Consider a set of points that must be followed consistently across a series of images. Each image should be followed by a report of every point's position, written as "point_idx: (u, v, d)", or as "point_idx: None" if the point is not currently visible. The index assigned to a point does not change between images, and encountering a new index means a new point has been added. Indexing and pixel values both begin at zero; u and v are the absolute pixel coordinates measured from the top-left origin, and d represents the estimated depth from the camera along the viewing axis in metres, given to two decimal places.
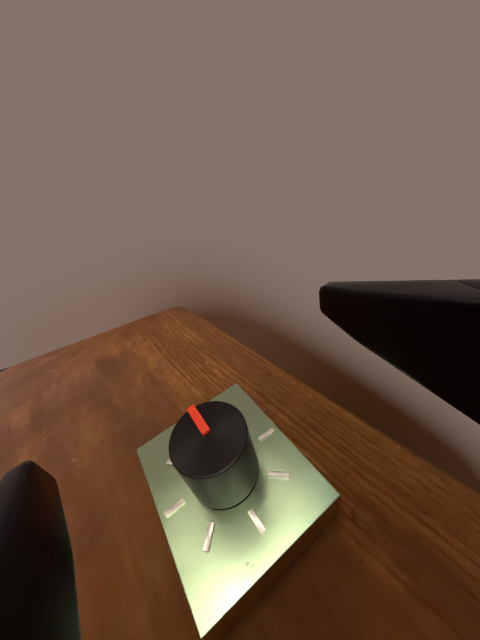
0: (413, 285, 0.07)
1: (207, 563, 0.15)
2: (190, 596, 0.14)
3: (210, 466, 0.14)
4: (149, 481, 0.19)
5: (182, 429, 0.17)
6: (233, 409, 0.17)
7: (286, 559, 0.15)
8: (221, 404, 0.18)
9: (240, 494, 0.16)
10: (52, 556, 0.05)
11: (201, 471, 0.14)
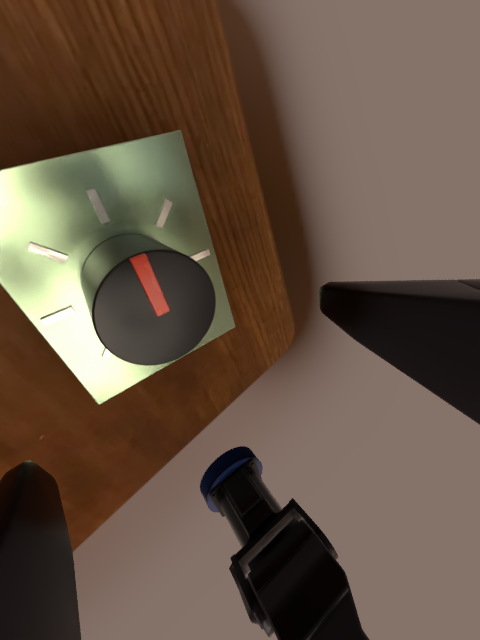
0: (413, 285, 0.07)
1: (106, 365, 0.15)
2: (87, 385, 0.15)
3: (161, 354, 0.11)
4: None
5: (119, 294, 0.09)
6: (206, 280, 0.11)
7: None
8: (190, 266, 0.11)
9: None
10: (52, 556, 0.05)
11: (149, 358, 0.11)
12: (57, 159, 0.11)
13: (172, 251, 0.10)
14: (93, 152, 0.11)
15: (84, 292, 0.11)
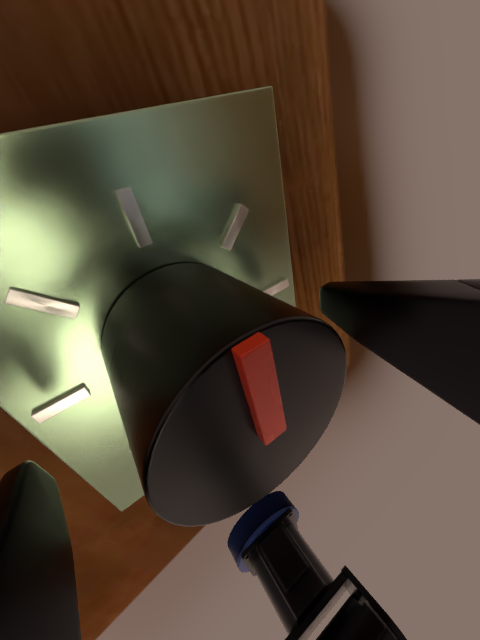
0: (413, 285, 0.07)
1: None
2: (106, 490, 0.10)
3: (254, 492, 0.06)
4: None
5: (201, 421, 0.04)
6: (340, 358, 0.06)
7: None
8: (325, 339, 0.05)
9: None
10: (52, 556, 0.05)
11: (234, 507, 0.06)
12: (62, 127, 0.05)
13: (304, 317, 0.05)
14: (129, 117, 0.06)
15: (111, 377, 0.06)
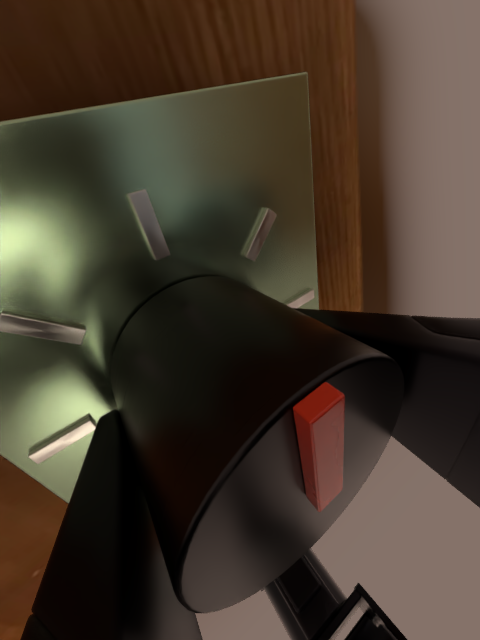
0: (365, 319, 0.06)
1: None
2: None
3: (294, 554, 0.05)
4: None
5: (248, 497, 0.03)
6: (399, 396, 0.05)
7: None
8: (389, 377, 0.04)
9: None
10: None
11: (272, 574, 0.05)
12: (65, 117, 0.04)
13: (372, 356, 0.04)
14: (146, 106, 0.05)
15: (123, 416, 0.05)
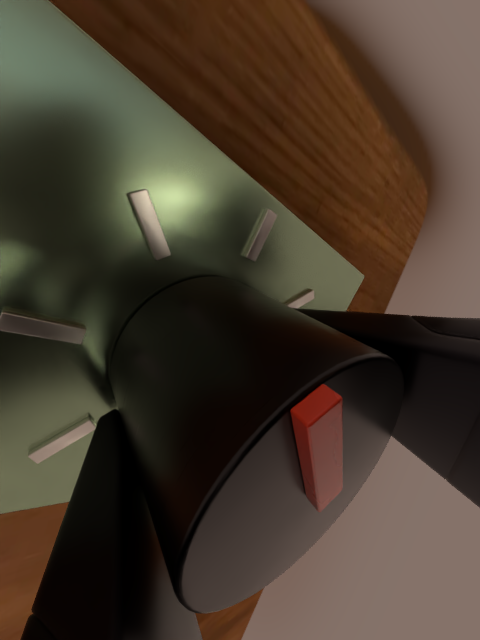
0: (365, 319, 0.06)
1: None
2: None
3: (295, 552, 0.05)
4: (34, 504, 0.07)
5: (247, 499, 0.03)
6: (399, 395, 0.05)
7: None
8: (389, 377, 0.04)
9: None
10: None
11: (274, 573, 0.05)
12: None
13: (371, 356, 0.04)
14: None
15: (123, 417, 0.05)
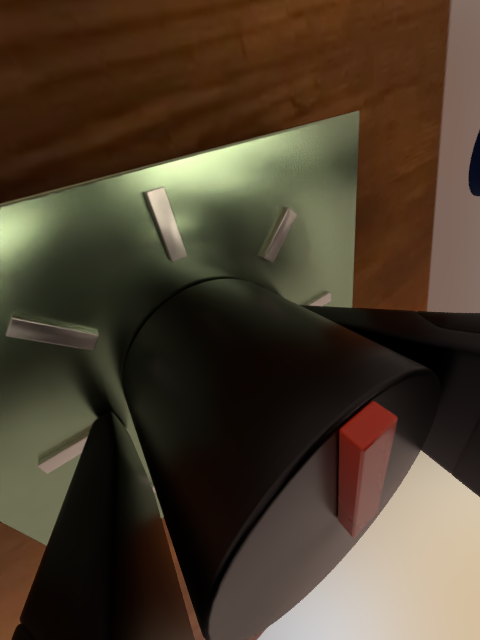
0: (371, 315, 0.06)
1: None
2: None
3: (318, 576, 0.05)
4: None
5: (285, 526, 0.03)
6: (434, 409, 0.05)
7: None
8: (428, 392, 0.04)
9: None
10: (144, 489, 0.05)
11: (296, 599, 0.05)
12: None
13: (416, 370, 0.03)
14: None
15: (138, 426, 0.05)
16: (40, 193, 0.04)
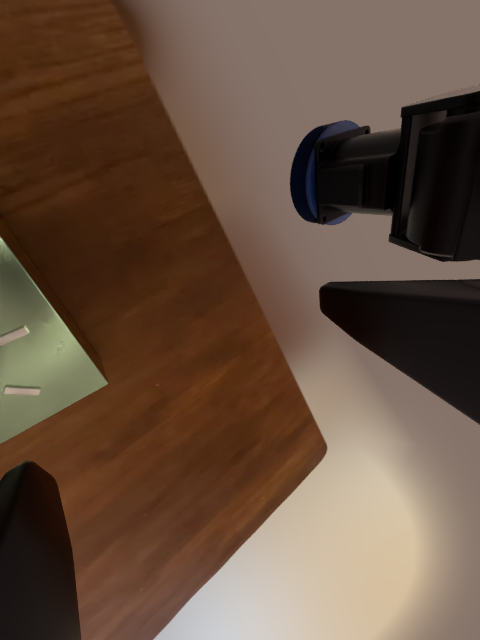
0: (413, 285, 0.07)
1: (51, 387, 0.14)
2: (78, 397, 0.15)
3: None
4: None
5: None
6: None
7: (53, 300, 0.13)
8: None
9: None
10: (52, 556, 0.05)
11: None
12: None
13: None
14: None
15: None
16: None
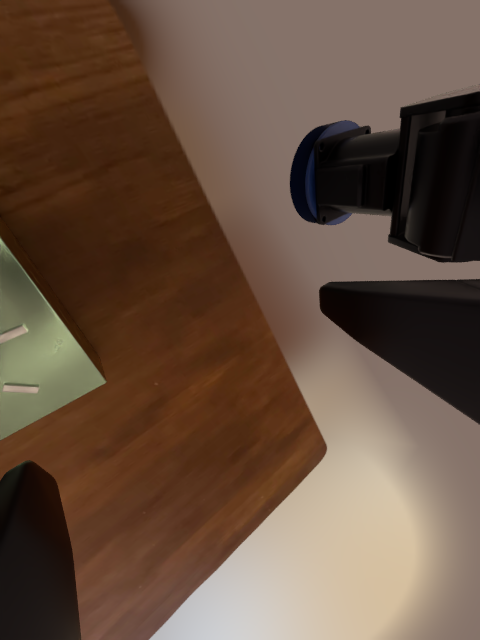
0: (413, 285, 0.07)
1: (50, 385, 0.14)
2: (76, 395, 0.15)
3: None
4: None
5: None
6: None
7: (52, 299, 0.14)
8: None
9: None
10: (52, 556, 0.05)
11: None
12: None
13: None
14: None
15: None
16: None
